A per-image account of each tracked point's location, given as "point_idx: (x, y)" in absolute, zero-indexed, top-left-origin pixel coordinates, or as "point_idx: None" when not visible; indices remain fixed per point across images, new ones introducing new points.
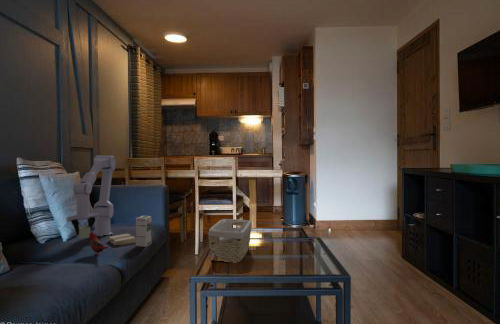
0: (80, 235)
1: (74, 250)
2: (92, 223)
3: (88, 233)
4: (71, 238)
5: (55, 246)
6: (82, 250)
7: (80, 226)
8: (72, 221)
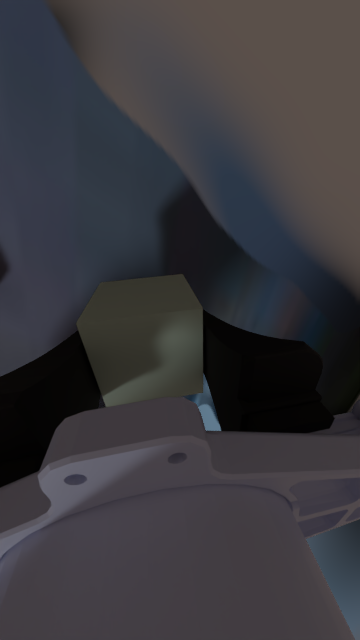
0: (181, 282)
1: (209, 223)
2: (30, 370)
3: (112, 292)
4: None
5: None
6: (169, 190)
7: (173, 390)
8: (318, 403)
